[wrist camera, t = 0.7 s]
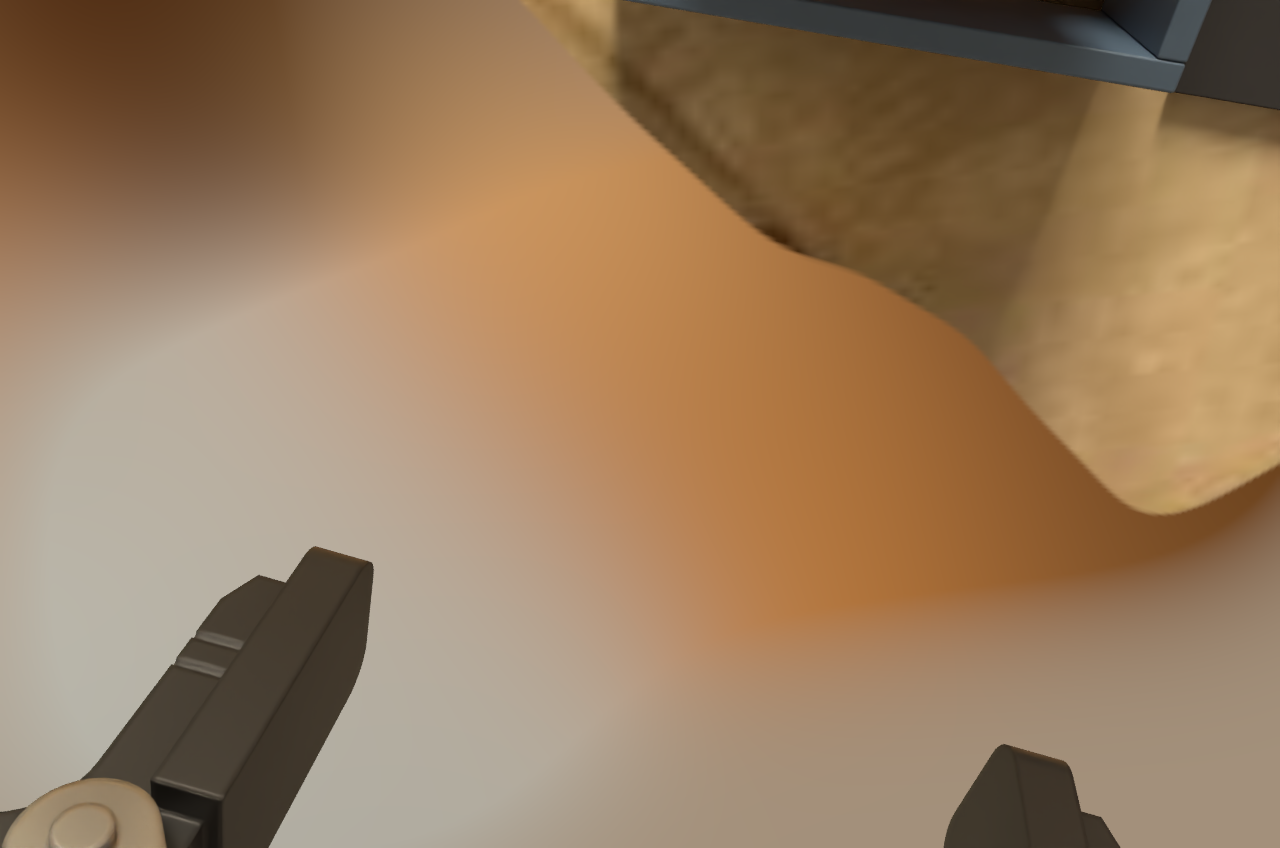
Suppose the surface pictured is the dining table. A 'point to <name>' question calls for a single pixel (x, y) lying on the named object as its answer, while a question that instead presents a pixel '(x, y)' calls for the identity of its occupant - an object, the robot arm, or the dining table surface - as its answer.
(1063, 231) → the dining table surface
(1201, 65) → the rubber mat
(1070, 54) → the open storage bin
